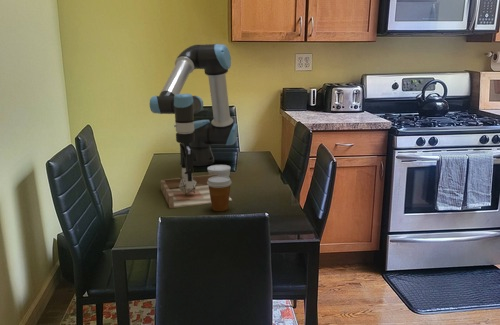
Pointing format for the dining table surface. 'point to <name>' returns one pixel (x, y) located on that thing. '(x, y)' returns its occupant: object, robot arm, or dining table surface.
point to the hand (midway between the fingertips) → (187, 185)
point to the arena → (178, 197)
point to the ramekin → (219, 170)
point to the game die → (183, 186)
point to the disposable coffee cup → (219, 192)
